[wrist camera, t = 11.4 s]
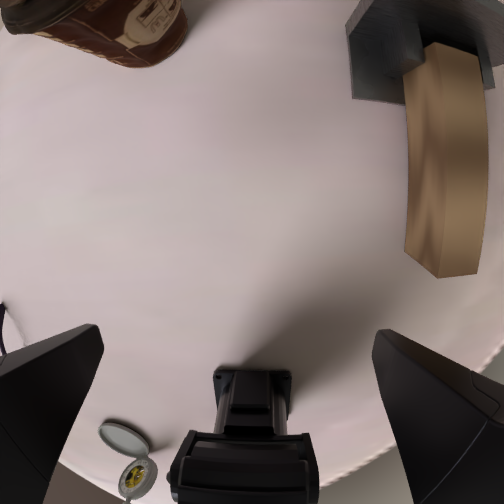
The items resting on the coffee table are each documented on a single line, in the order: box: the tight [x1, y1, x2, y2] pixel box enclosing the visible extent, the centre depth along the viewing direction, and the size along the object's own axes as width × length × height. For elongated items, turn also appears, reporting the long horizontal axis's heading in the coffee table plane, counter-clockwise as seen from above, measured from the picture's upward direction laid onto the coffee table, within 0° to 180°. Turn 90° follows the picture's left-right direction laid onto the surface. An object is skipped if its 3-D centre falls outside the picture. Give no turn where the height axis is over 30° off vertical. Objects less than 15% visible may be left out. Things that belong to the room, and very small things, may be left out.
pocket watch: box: [98, 423, 158, 504], centre depth 23 cm, size 8×8×10 cm
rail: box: [403, 42, 488, 278], centre depth 15 cm, size 14×4×5 cm, turn 4°
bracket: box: [345, 0, 504, 106], centre depth 11 cm, size 6×12×9 cm, turn 91°
